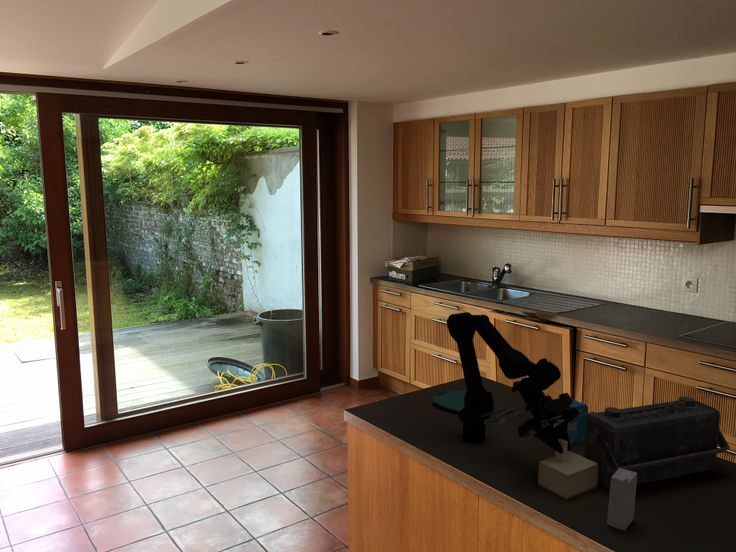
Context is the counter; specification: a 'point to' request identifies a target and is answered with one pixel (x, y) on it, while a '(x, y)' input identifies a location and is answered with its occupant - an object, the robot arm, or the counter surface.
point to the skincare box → (622, 499)
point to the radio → (654, 440)
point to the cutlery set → (456, 403)
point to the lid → (568, 462)
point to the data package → (577, 423)
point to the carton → (567, 482)
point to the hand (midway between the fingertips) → (565, 451)
